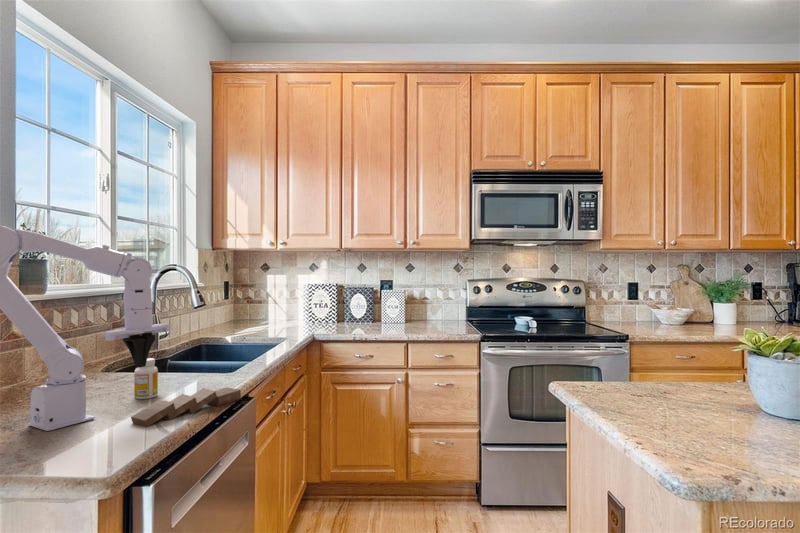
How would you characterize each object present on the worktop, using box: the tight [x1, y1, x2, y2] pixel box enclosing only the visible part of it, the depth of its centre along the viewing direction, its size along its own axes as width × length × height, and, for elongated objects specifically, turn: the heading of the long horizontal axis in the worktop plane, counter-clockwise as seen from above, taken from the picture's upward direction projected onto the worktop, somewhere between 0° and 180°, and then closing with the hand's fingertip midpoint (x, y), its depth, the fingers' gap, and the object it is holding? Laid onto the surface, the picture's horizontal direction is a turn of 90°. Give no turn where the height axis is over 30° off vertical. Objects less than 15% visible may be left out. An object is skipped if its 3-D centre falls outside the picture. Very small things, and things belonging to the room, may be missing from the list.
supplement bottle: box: [133, 357, 159, 400], centre depth 124 cm, size 5×5×10 cm
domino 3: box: [184, 387, 217, 415], centre depth 114 cm, size 2×5×7 cm
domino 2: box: [161, 393, 197, 421], centre depth 109 cm, size 2×5×7 cm
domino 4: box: [211, 386, 242, 403], centre depth 120 cm, size 2×5×7 cm
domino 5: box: [207, 395, 242, 407], centre depth 121 cm, size 2×5×7 cm
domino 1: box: [130, 399, 175, 428], centre depth 105 cm, size 2×5×7 cm
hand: (140, 366), depth 112 cm, fingers closed
